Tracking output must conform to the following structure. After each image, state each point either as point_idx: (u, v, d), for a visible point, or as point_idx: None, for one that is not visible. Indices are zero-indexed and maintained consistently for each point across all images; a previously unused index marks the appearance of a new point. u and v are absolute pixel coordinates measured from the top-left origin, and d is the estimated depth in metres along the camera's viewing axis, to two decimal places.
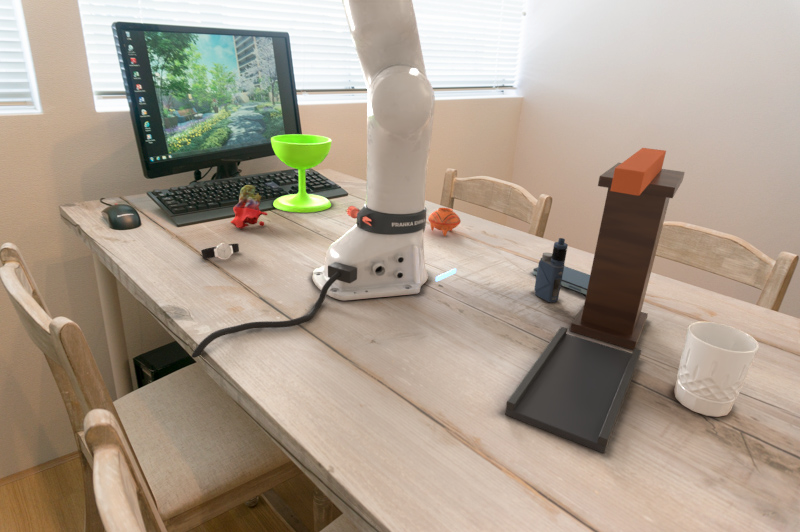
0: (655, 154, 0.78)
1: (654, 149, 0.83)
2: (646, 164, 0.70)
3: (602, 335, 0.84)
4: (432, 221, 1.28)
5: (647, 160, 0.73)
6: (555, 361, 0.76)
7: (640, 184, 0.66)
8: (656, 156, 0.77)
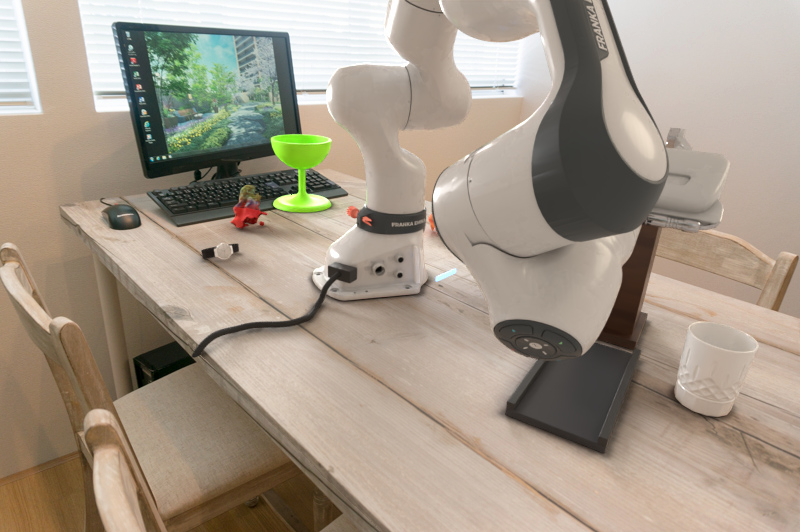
0: None
1: None
2: None
3: (602, 335, 0.84)
4: (432, 221, 1.28)
5: None
6: (555, 361, 0.76)
7: None
8: None
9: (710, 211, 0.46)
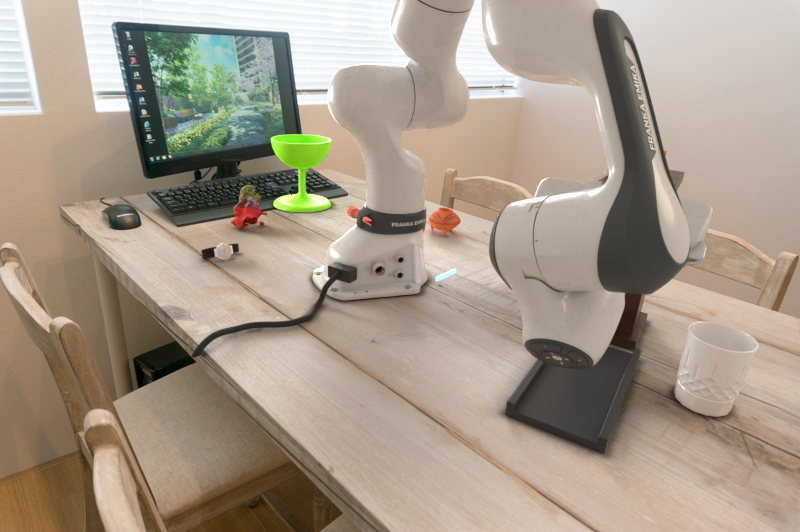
0: None
1: None
2: None
3: None
4: (432, 221, 1.28)
5: None
6: None
7: None
8: None
9: (695, 249, 0.58)
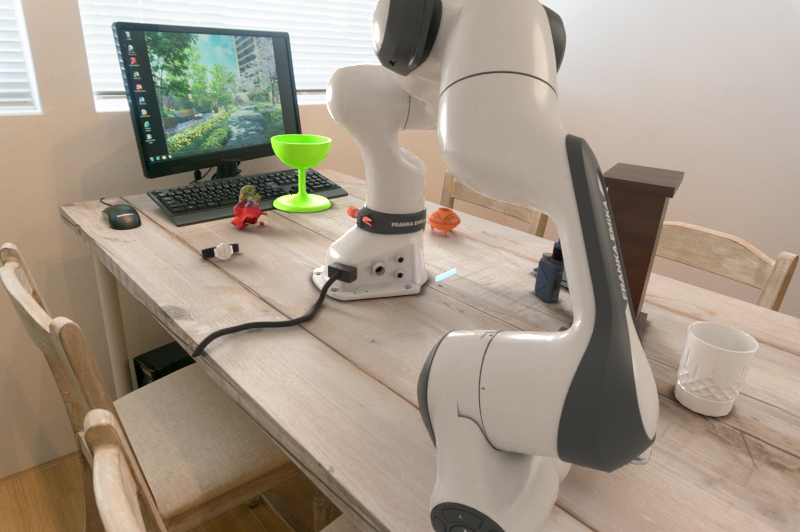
0: None
1: None
2: None
3: None
4: (432, 221, 1.28)
5: None
6: None
7: None
8: None
9: None
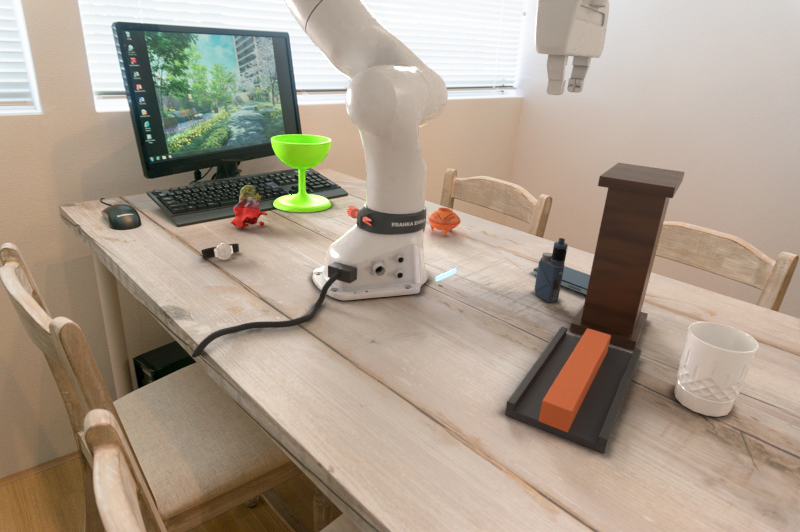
0: (596, 349, 0.74)
1: (599, 332, 0.79)
2: (579, 384, 0.66)
3: None
4: (432, 221, 1.28)
5: (583, 371, 0.69)
6: (555, 361, 0.76)
7: (568, 422, 0.61)
8: (596, 356, 0.72)
9: None
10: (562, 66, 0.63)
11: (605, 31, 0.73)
